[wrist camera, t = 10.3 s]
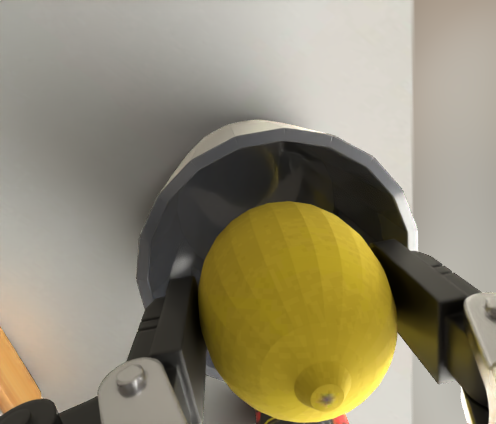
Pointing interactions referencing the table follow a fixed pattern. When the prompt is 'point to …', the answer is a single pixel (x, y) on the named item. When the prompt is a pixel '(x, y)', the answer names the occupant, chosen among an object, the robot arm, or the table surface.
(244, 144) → the steel cup
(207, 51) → the table surface
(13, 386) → the soap dish
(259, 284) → the lemon
